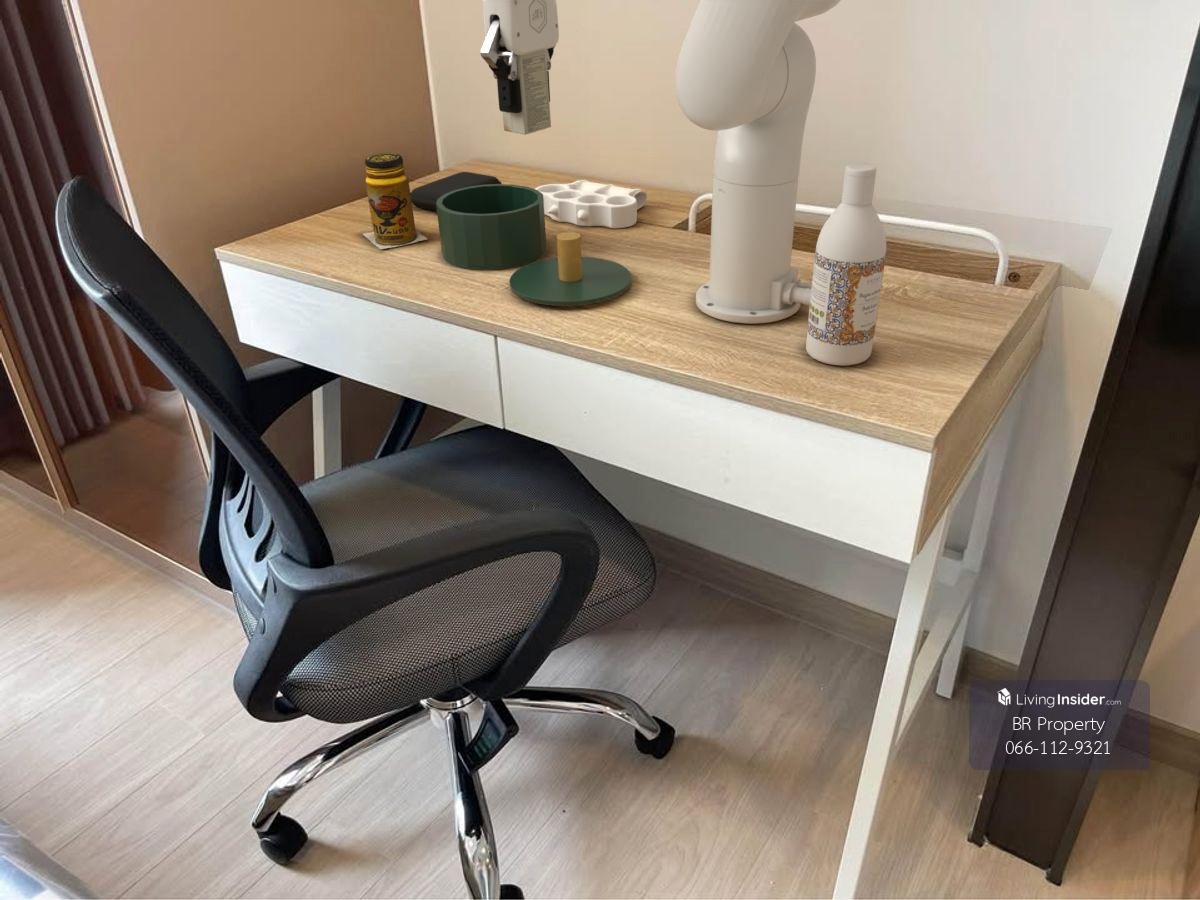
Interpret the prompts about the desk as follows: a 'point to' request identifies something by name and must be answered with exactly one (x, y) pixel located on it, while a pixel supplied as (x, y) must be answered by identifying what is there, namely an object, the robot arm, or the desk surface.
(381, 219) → the condiment
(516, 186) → the tin
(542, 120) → the white cardboard carton
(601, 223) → the knuckle duster
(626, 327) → the desk surface
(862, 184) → the bath foam
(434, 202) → the carrying case
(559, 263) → the tin lid
